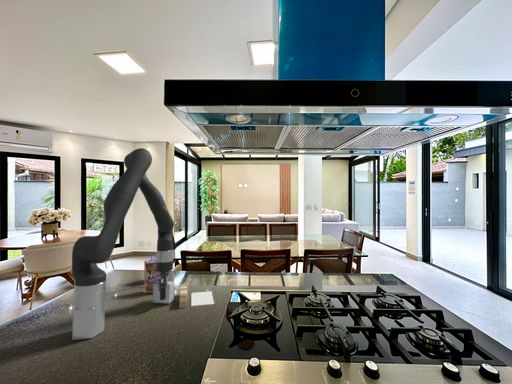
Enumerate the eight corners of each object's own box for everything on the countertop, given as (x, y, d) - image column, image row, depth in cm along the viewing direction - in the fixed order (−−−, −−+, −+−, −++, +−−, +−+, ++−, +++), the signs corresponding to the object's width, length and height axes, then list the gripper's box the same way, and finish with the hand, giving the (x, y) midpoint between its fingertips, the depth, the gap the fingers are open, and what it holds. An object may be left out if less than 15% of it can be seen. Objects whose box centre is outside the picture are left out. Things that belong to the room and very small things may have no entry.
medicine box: (173, 300, 113) (174, 281, 113) (169, 304, 108) (169, 284, 109) (157, 299, 113) (158, 280, 114) (152, 303, 109) (153, 283, 110)
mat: (214, 304, 109) (214, 303, 109) (191, 306, 107) (191, 305, 107) (211, 292, 124) (211, 291, 125) (191, 293, 122) (191, 292, 122)
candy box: (143, 293, 121) (144, 262, 122) (146, 290, 126) (147, 260, 126) (162, 293, 123) (163, 262, 123) (164, 290, 127) (165, 260, 128)
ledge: (186, 307, 106) (186, 295, 106) (179, 307, 105) (179, 296, 106) (187, 294, 121) (187, 283, 122) (181, 294, 121) (181, 284, 121)
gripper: (171, 263, 106) (170, 302, 105) (174, 256, 120) (173, 291, 119) (153, 263, 104) (151, 304, 103) (158, 256, 118) (157, 292, 117)
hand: (163, 297), depth 111 cm, fingers closed on medicine box, 5 cm apart
